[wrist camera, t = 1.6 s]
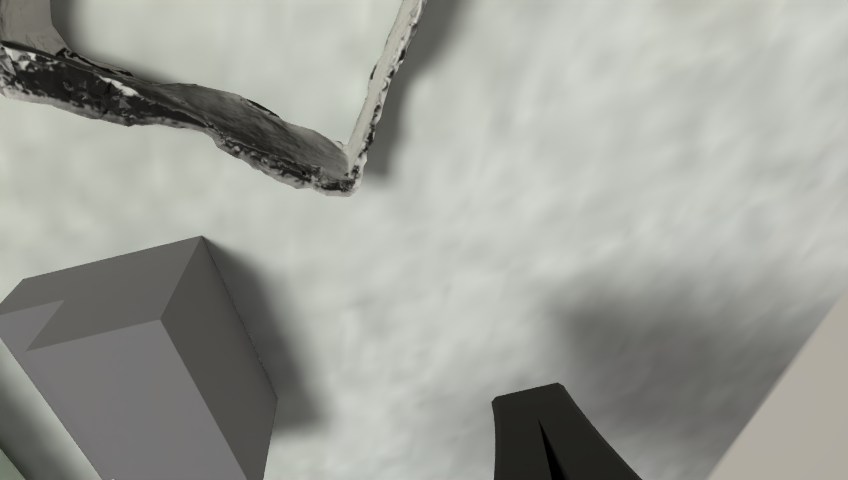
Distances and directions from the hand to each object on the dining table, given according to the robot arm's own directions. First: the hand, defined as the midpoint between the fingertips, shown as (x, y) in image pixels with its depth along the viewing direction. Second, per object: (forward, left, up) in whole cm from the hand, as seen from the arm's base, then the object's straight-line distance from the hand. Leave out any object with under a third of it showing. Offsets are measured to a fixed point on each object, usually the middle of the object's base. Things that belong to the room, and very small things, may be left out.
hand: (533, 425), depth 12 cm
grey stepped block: (0, +10, -6) cm, 12 cm away
